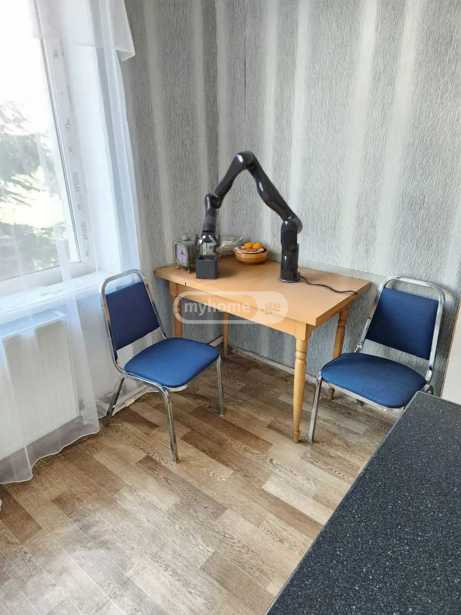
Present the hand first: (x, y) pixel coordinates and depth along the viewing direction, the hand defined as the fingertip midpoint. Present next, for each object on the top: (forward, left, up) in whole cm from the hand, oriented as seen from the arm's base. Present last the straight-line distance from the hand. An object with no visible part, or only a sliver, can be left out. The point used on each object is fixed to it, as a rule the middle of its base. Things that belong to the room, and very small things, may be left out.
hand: (206, 252), depth 213 cm
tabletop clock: (+14, -10, -14) cm, 22 cm away
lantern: (+4, -32, -14) cm, 36 cm away
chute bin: (0, -1, -14) cm, 14 cm away
